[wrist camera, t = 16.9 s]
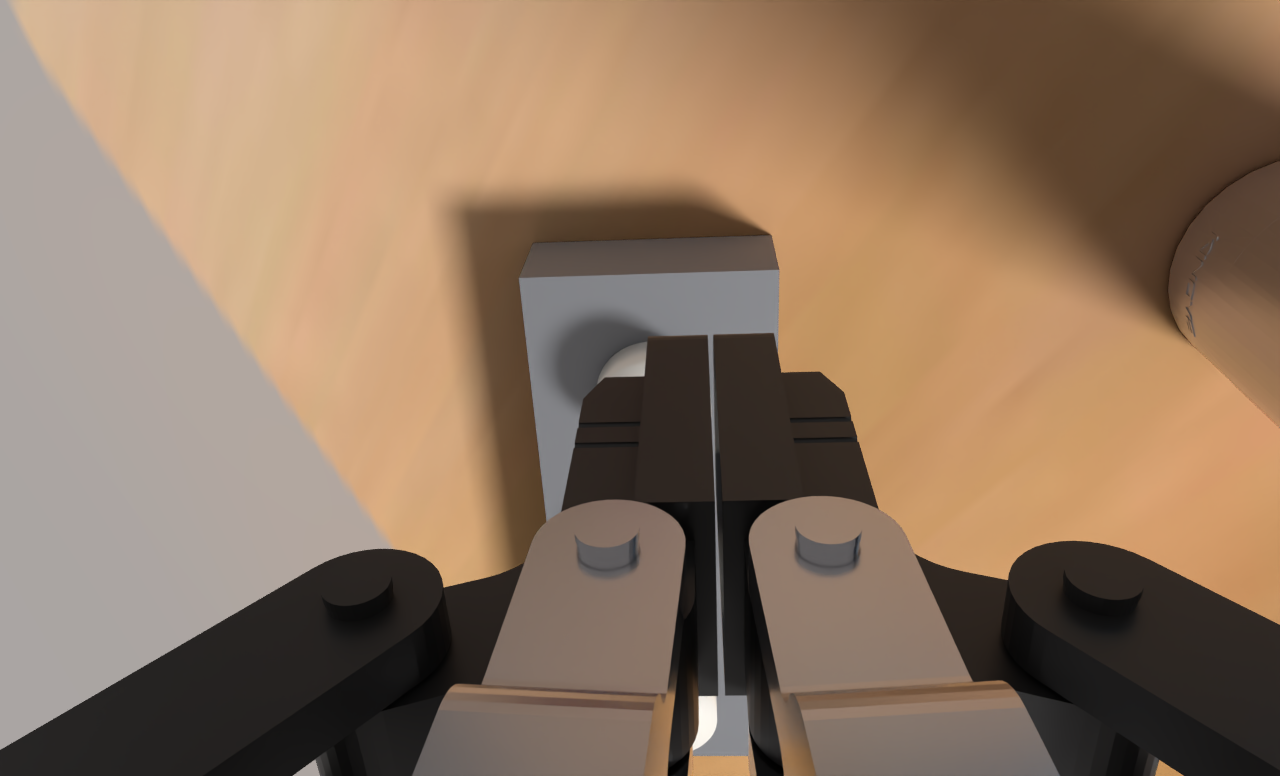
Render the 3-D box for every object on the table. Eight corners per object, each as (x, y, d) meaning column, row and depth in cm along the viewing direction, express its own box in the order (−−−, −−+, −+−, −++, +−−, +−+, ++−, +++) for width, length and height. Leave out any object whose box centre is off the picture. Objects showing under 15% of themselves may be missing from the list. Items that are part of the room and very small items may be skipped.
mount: (771, 234, 41) (779, 269, 38) (765, 696, 53) (771, 755, 50) (533, 243, 42) (518, 277, 38) (581, 697, 54) (573, 755, 50)
